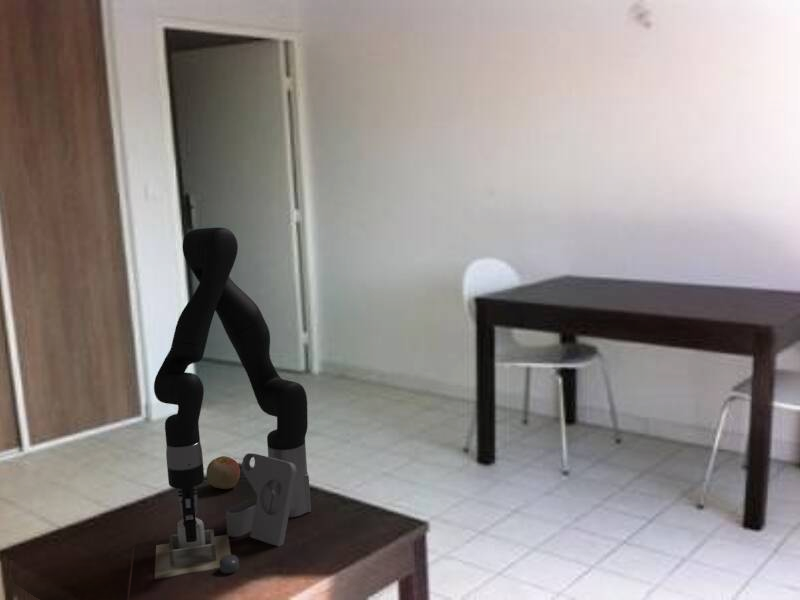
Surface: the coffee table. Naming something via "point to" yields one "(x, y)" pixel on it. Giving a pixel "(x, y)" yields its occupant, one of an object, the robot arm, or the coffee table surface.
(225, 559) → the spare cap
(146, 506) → the coffee table surface
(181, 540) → the eye dropper bottle
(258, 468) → the phone holder
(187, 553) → the glass box on tray
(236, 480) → the apple
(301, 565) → the coffee table surface
